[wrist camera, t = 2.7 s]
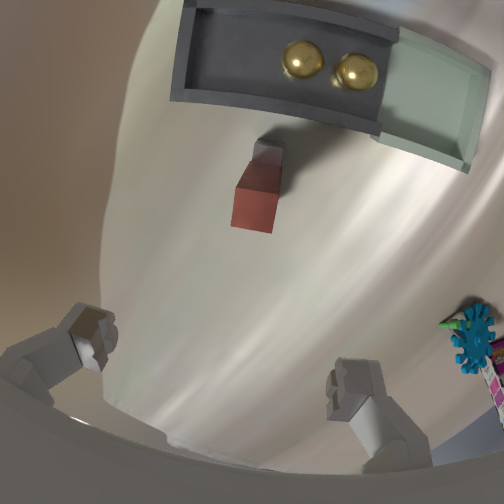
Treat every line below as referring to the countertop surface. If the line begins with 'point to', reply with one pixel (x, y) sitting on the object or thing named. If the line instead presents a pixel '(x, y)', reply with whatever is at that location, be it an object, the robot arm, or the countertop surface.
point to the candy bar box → (496, 376)
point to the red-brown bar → (259, 188)
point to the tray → (432, 101)
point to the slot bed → (277, 60)
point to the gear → (472, 337)
